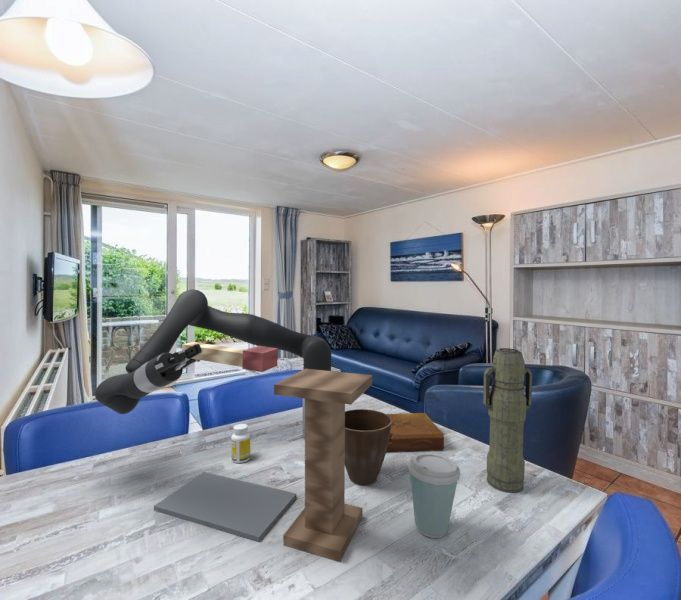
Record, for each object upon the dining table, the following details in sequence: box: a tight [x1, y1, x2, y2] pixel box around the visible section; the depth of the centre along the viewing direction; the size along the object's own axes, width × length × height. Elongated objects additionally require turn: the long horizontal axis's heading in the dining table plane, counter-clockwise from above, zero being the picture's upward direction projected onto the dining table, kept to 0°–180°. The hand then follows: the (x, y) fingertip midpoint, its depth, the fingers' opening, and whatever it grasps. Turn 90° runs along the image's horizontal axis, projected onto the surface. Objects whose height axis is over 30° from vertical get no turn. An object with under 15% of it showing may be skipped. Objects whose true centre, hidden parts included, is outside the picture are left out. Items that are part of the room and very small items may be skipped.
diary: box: [386, 412, 445, 453], centre depth 120 cm, size 23×19×6 cm
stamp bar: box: [181, 341, 279, 373], centre depth 82 cm, size 23×6×4 cm, turn 69°
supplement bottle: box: [230, 423, 251, 464], centre depth 106 cm, size 5×5×10 cm
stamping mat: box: [153, 471, 297, 543], centre depth 85 cm, size 28×16×1 cm, turn 69°
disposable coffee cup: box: [407, 452, 461, 539], centre depth 76 cm, size 11×11×15 cm
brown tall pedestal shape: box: [273, 369, 373, 563], centre depth 75 cm, size 16×14×32 cm
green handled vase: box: [482, 347, 533, 494], centre depth 93 cm, size 9×12×35 cm
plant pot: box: [345, 408, 392, 486], centre depth 96 cm, size 15×15×16 cm
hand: (205, 346), depth 85 cm, fingers closed on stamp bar, 3 cm apart
